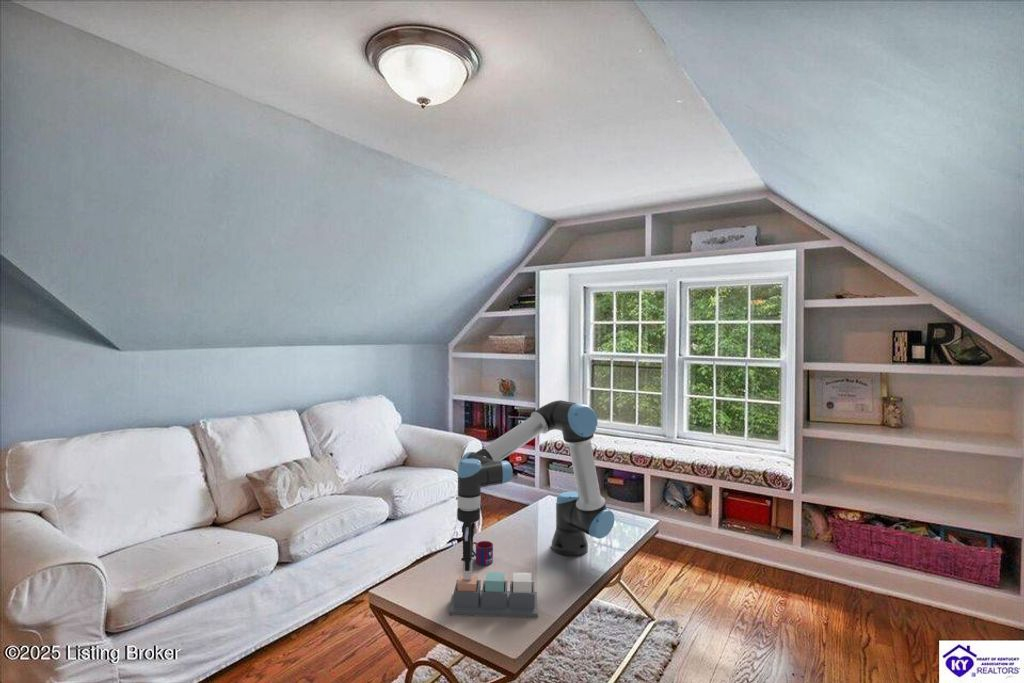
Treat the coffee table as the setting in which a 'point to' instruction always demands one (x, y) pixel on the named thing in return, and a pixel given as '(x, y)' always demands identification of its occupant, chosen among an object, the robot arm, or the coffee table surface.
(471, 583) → the terracotta key
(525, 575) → the ivory key
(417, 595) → the coffee table surface
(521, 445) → the robot arm
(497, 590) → the teal key
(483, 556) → the mug
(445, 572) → the coffee table surface
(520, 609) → the console
